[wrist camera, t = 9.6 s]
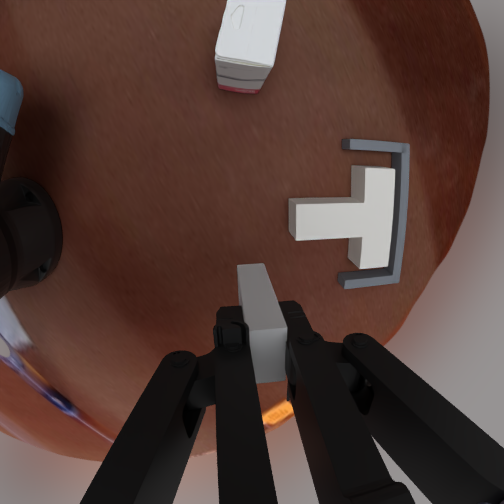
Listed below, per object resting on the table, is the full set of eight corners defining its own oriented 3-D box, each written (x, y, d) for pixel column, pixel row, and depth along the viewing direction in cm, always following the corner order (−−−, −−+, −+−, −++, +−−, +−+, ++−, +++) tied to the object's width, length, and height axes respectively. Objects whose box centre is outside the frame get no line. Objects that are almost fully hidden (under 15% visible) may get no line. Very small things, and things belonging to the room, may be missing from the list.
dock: (337, 281, 40) (344, 289, 38) (341, 139, 34) (350, 138, 32) (390, 275, 41) (398, 282, 38) (399, 143, 34) (409, 143, 32)
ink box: (258, 96, 32) (275, 71, 20) (215, 89, 31) (211, 60, 20) (270, 32, 29) (291, -13, 18) (229, 25, 28) (233, -24, 17)
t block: (288, 261, 38) (295, 274, 35) (288, 164, 34) (295, 166, 31) (374, 255, 39) (387, 266, 36) (379, 166, 35) (395, 169, 32)
